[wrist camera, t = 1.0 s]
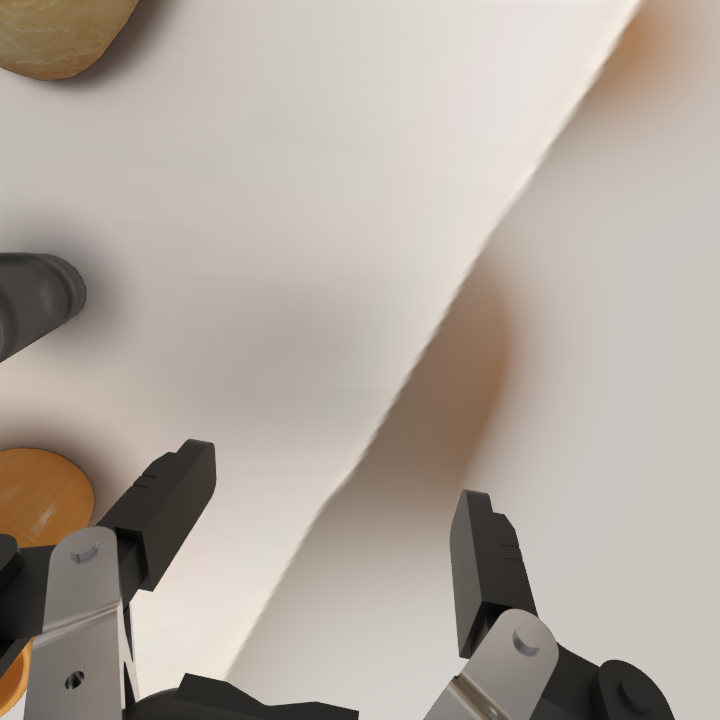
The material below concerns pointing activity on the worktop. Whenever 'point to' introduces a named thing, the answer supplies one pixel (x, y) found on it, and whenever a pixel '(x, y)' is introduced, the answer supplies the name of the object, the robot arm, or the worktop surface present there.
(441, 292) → the worktop surface
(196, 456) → the robot arm
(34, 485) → the flower pot
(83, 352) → the worktop surface
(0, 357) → the beverage cup
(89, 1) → the bread roll
